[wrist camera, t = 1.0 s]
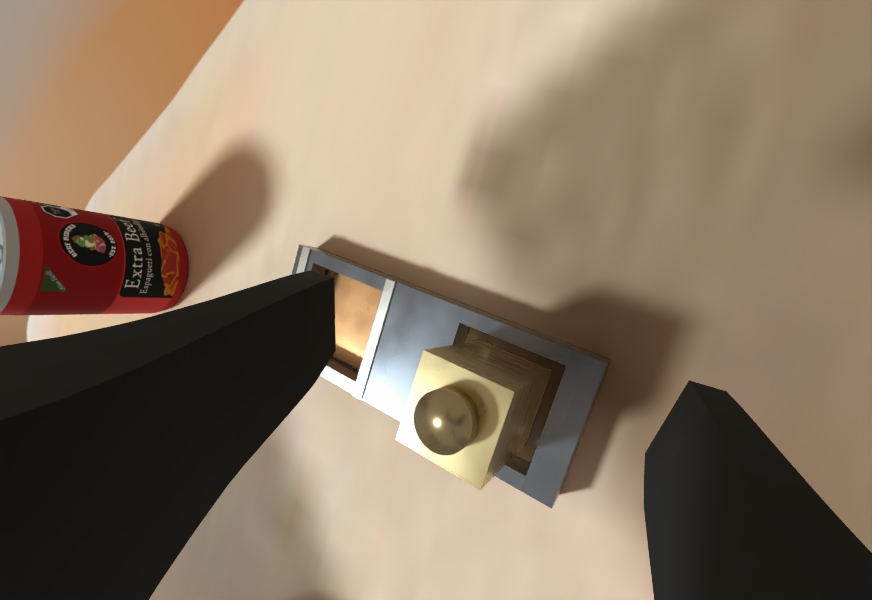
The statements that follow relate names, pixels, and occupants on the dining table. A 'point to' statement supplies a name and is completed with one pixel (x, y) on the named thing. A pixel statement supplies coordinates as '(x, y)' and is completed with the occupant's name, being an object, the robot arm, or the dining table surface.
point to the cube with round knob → (472, 408)
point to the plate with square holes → (436, 327)
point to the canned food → (85, 262)
